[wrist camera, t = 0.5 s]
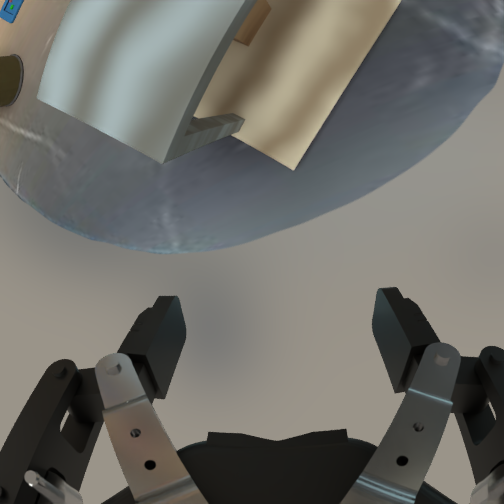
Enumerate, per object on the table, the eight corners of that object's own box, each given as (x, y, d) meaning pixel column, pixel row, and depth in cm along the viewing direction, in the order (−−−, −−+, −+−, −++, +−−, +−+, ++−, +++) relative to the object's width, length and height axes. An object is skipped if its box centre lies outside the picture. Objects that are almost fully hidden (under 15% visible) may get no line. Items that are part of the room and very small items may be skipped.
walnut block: (207, 30, 25) (156, 5, 15) (229, -7, 22) (187, -46, 13) (248, 46, 25) (211, 21, 15) (271, 9, 22) (246, -33, 13)
